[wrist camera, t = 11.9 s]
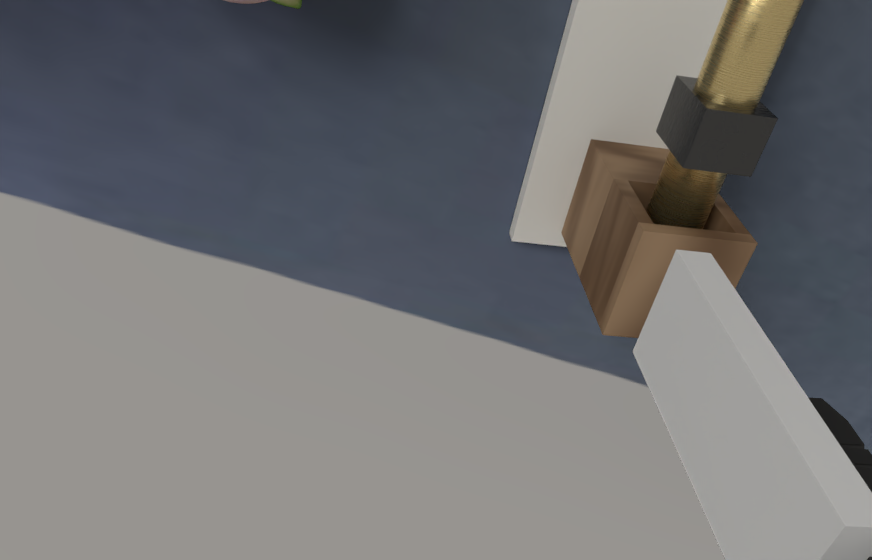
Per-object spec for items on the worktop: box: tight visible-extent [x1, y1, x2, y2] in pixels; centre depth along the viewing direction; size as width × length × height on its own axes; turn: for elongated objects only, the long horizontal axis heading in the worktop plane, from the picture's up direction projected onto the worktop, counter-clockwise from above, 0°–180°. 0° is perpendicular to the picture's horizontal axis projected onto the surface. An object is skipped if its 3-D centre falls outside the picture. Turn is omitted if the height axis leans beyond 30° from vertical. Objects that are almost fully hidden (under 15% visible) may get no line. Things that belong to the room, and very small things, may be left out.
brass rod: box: [646, 0, 804, 229], centre depth 35 cm, size 4×26×4 cm, turn 170°
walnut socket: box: [561, 139, 758, 338], centre depth 43 cm, size 6×6×10 cm
